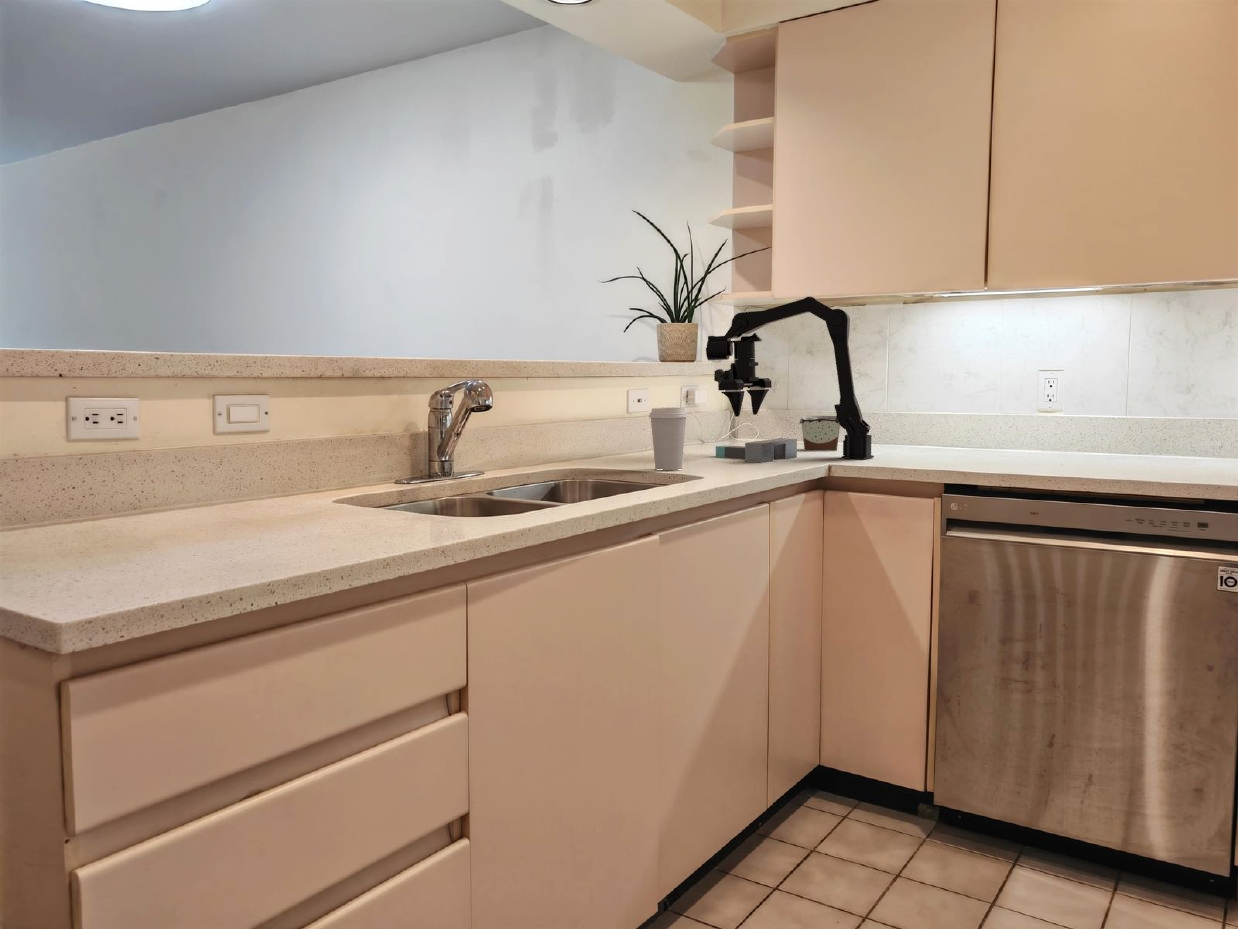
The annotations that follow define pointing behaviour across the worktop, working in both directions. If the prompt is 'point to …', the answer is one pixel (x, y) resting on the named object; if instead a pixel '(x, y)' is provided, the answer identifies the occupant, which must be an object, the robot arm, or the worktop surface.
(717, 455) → the bar
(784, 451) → the long gray rectangular block
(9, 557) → the worktop surface
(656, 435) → the coffee cup
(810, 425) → the food container
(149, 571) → the worktop surface
